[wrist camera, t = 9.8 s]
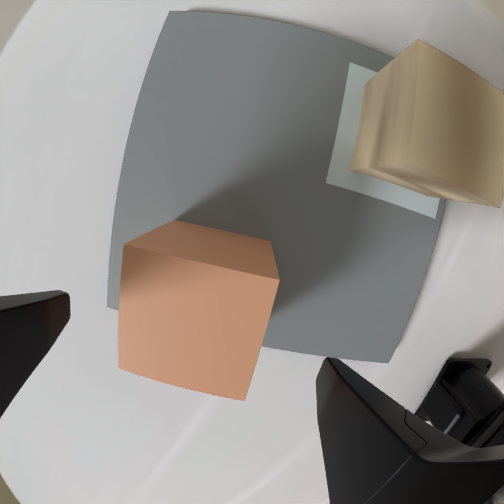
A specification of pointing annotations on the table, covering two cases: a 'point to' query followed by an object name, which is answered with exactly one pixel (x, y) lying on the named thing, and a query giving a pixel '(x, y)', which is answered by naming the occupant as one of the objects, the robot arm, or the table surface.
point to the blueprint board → (277, 176)
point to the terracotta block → (195, 307)
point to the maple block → (433, 128)
